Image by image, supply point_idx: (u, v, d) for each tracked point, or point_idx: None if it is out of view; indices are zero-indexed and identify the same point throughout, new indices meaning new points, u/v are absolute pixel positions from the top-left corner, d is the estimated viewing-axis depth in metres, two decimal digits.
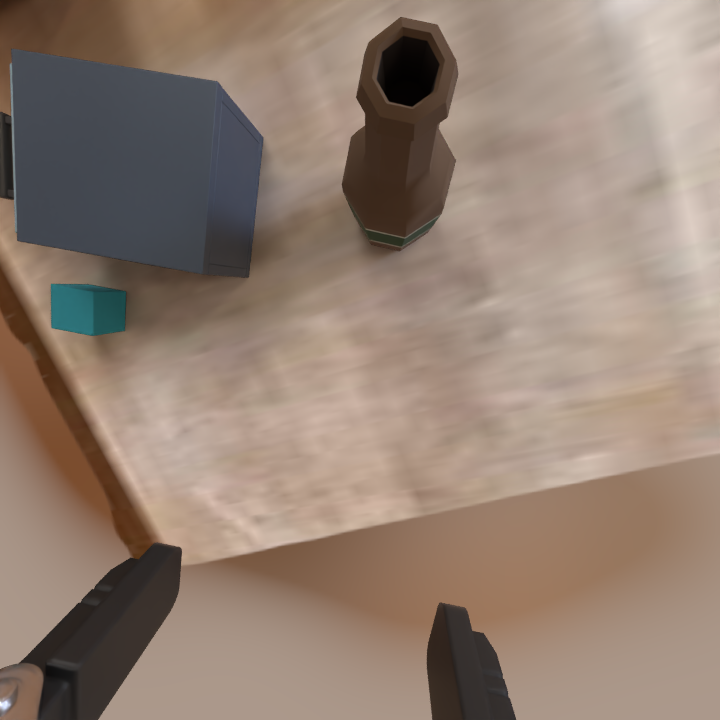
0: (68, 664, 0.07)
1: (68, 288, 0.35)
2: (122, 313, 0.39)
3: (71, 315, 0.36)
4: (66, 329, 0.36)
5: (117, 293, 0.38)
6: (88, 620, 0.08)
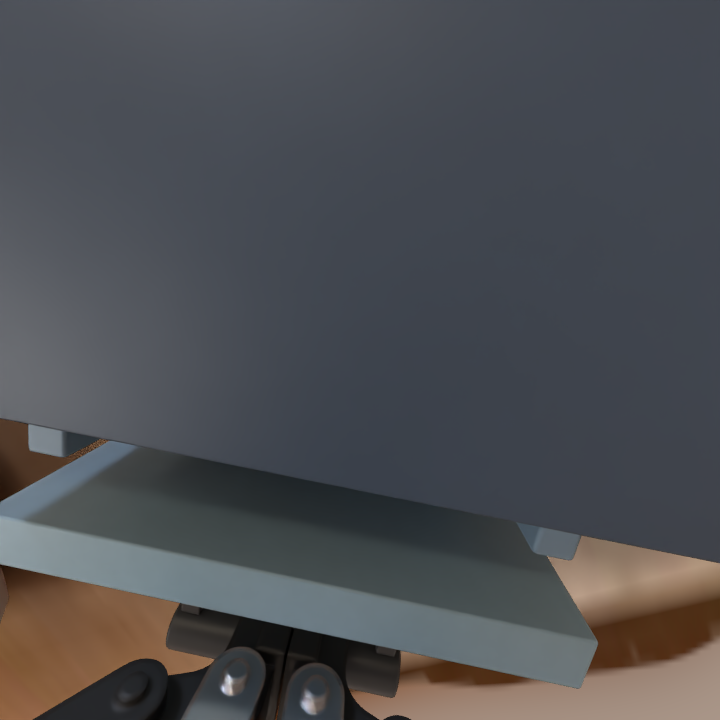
0: (273, 650, 0.08)
1: None
2: None
3: None
4: None
5: None
6: None
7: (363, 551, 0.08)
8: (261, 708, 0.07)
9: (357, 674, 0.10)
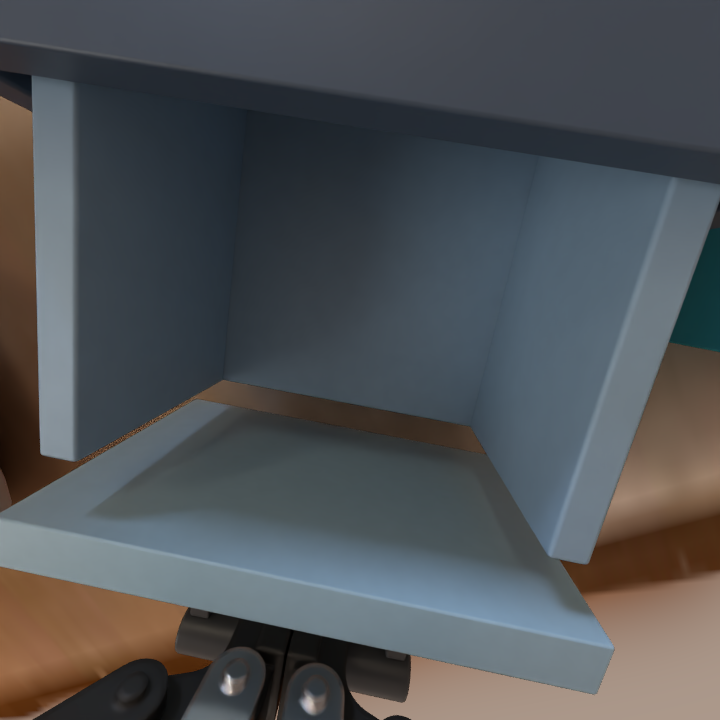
0: (274, 650, 0.08)
1: None
2: None
3: None
4: None
5: None
6: None
7: (374, 555, 0.08)
8: (261, 708, 0.07)
9: (367, 678, 0.10)
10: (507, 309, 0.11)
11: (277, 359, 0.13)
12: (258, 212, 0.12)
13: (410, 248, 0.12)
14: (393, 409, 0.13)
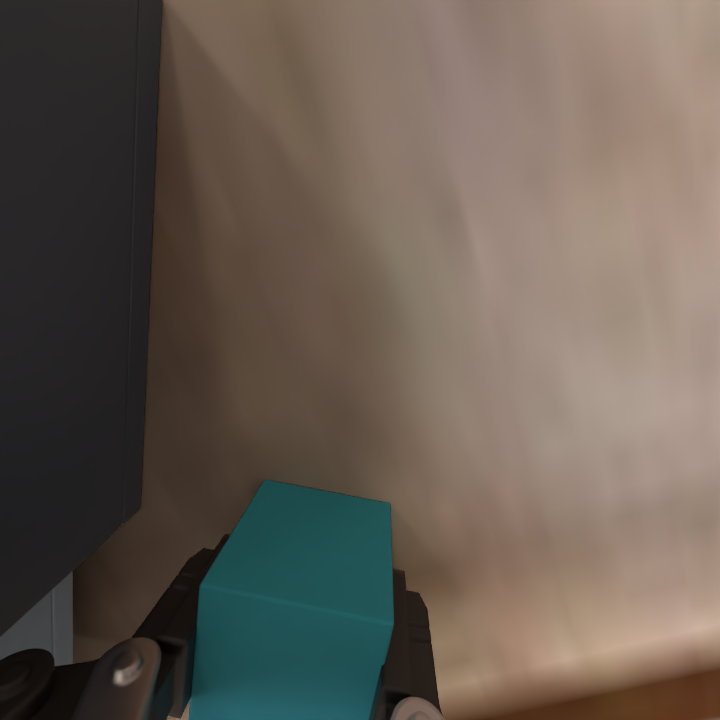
0: (176, 640, 0.08)
1: (196, 675, 0.09)
2: (331, 499, 0.12)
3: (306, 687, 0.08)
4: (365, 718, 0.08)
5: (256, 501, 0.11)
6: (184, 602, 0.09)
7: None
8: (153, 698, 0.07)
9: None
10: None
11: None
12: None
13: None
14: None
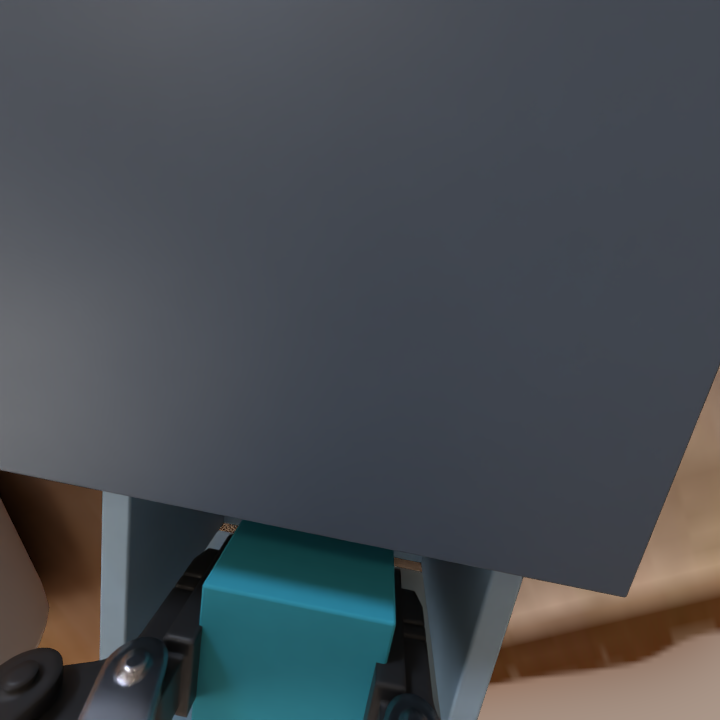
0: (183, 639, 0.08)
1: (198, 675, 0.09)
2: None
3: (308, 687, 0.08)
4: None
5: None
6: (190, 602, 0.09)
7: None
8: (161, 697, 0.07)
9: None
10: None
11: None
12: None
13: None
14: None
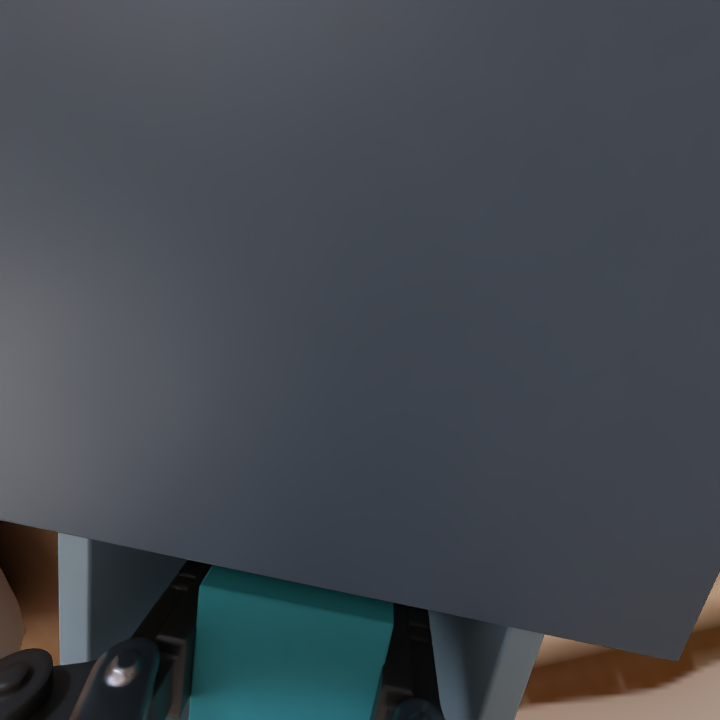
0: (175, 640, 0.08)
1: (195, 676, 0.09)
2: None
3: (306, 689, 0.08)
4: (365, 719, 0.08)
5: None
6: (183, 602, 0.09)
7: None
8: (152, 698, 0.07)
9: None
10: None
11: None
12: None
13: None
14: None
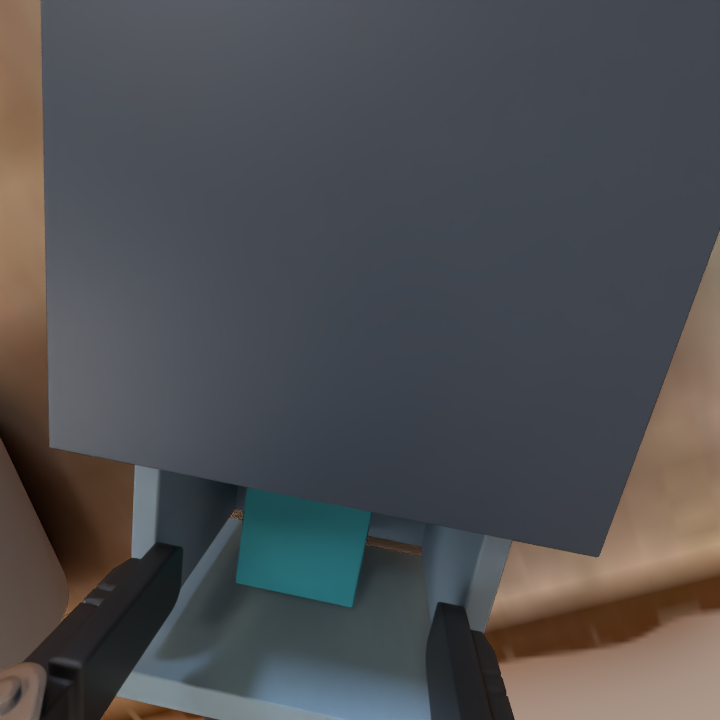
0: (71, 663, 0.07)
1: (243, 541, 0.13)
2: None
3: (316, 549, 0.13)
4: (355, 570, 0.13)
5: None
6: (91, 619, 0.08)
7: (338, 680, 0.12)
8: None
9: None
10: None
11: None
12: None
13: None
14: None
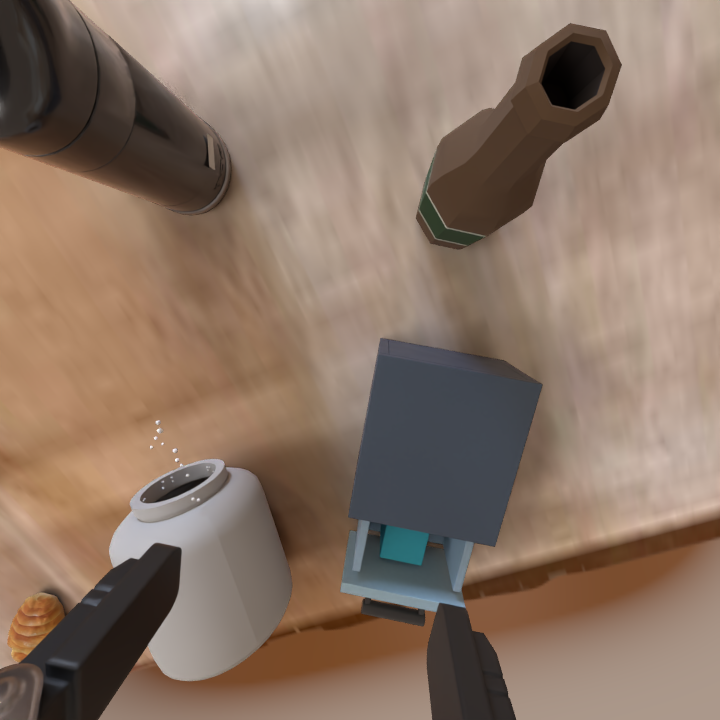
0: (68, 664, 0.07)
1: (384, 542, 0.37)
2: None
3: (409, 545, 0.37)
4: (423, 552, 0.37)
5: None
6: (88, 620, 0.08)
7: (418, 589, 0.36)
8: None
9: (413, 619, 0.39)
10: None
11: None
12: None
13: None
14: None
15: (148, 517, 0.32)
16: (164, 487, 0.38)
